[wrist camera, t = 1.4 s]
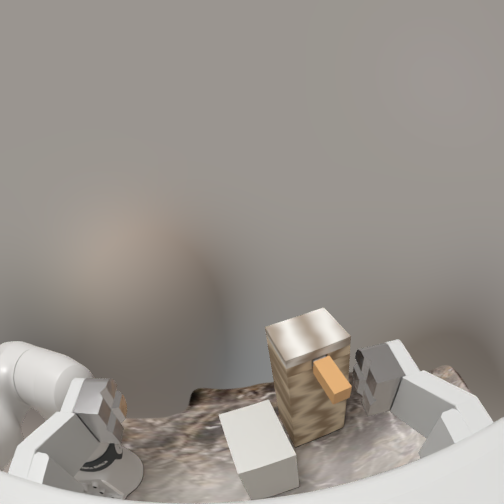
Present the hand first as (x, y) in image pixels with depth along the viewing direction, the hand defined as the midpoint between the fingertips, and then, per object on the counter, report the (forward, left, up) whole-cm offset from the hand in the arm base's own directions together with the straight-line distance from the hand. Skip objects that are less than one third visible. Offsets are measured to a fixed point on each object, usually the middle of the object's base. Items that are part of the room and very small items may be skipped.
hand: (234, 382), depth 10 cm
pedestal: (+2, +25, -57) cm, 62 cm away
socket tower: (+16, +33, -57) cm, 68 cm away
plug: (+16, +26, -33) cm, 45 cm away
